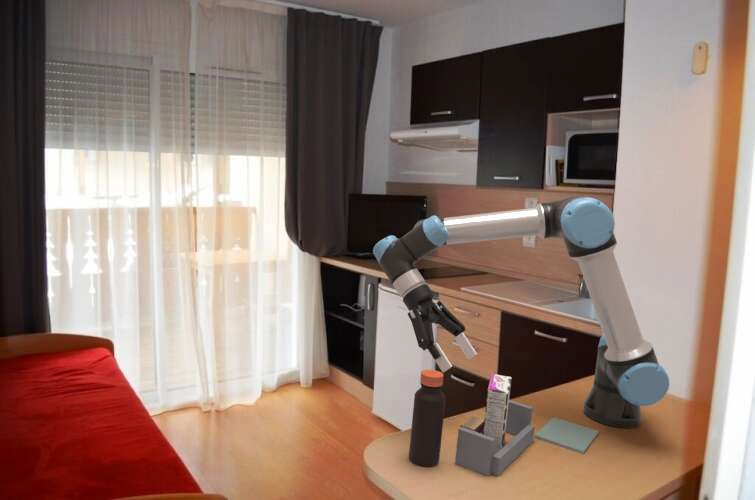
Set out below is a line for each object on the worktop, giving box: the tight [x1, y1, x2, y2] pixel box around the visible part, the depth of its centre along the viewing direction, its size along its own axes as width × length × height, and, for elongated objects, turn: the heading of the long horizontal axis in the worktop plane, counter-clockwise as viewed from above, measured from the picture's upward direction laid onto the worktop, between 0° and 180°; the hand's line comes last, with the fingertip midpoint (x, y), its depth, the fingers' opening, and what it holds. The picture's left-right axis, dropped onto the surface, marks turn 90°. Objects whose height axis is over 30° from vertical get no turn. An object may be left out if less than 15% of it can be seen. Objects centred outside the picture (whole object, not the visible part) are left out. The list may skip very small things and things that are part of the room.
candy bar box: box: [483, 373, 512, 456], centre depth 132 cm, size 11×5×16 cm, turn 163°
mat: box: [534, 416, 600, 455], centre depth 144 cm, size 12×15×1 cm
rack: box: [454, 399, 536, 477], centre depth 132 cm, size 10×25×8 cm, turn 145°
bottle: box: [408, 369, 447, 467], centre depth 124 cm, size 7×7×20 cm
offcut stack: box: [459, 415, 485, 434], centre depth 135 cm, size 4×8×5 cm, turn 149°
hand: (460, 363), depth 136 cm, fingers open, 13 cm apart
